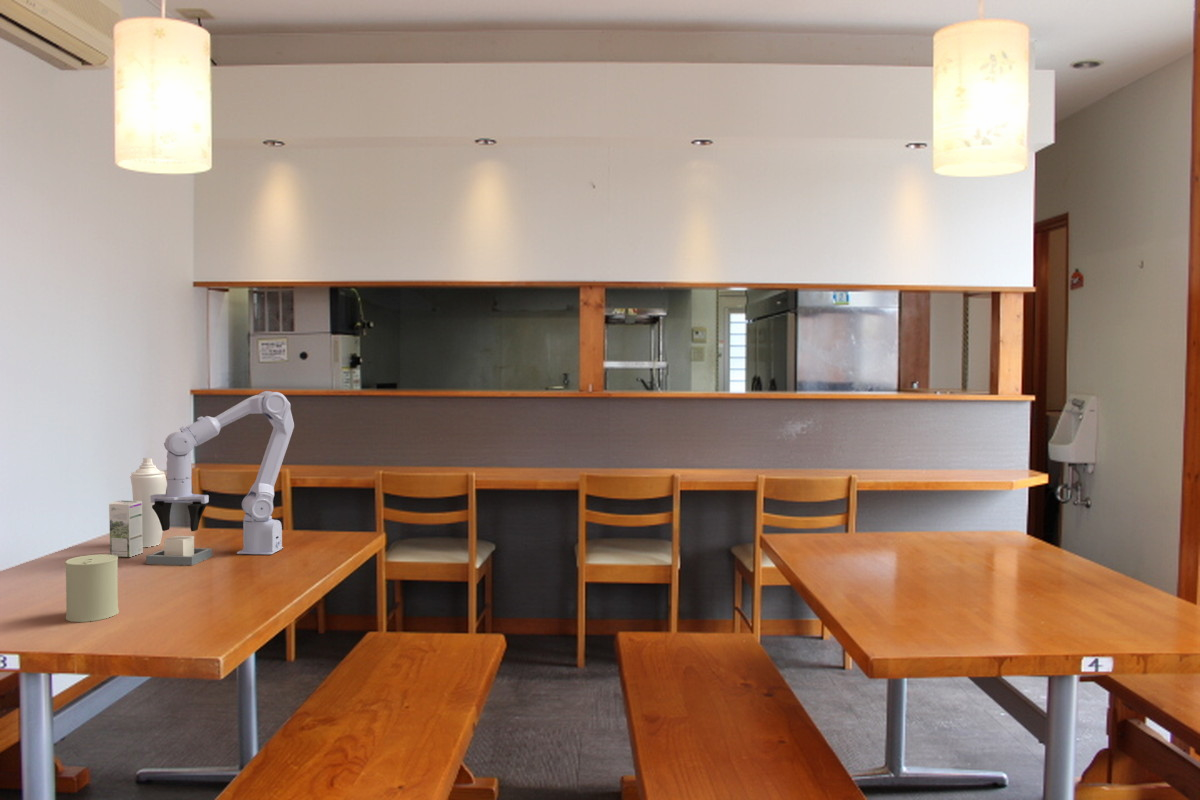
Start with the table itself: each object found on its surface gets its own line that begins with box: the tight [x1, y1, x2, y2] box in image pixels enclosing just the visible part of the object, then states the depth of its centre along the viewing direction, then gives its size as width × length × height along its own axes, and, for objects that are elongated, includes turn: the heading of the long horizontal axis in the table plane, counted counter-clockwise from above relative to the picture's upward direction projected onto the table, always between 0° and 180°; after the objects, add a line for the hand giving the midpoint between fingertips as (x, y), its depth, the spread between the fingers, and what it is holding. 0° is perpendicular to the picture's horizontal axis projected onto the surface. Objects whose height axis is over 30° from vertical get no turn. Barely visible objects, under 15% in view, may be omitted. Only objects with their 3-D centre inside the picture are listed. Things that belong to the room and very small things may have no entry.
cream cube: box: [163, 535, 195, 556], centre depth 214 cm, size 5×5×5 cm
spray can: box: [129, 457, 167, 548], centre depth 231 cm, size 12×11×25 cm
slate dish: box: [145, 547, 213, 566], centre depth 214 cm, size 12×10×2 cm
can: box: [64, 553, 120, 623], centre depth 167 cm, size 9×9×12 cm
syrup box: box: [108, 499, 144, 558], centre depth 219 cm, size 6×6×14 cm
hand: (180, 530), depth 214 cm, fingers open, 7 cm apart
